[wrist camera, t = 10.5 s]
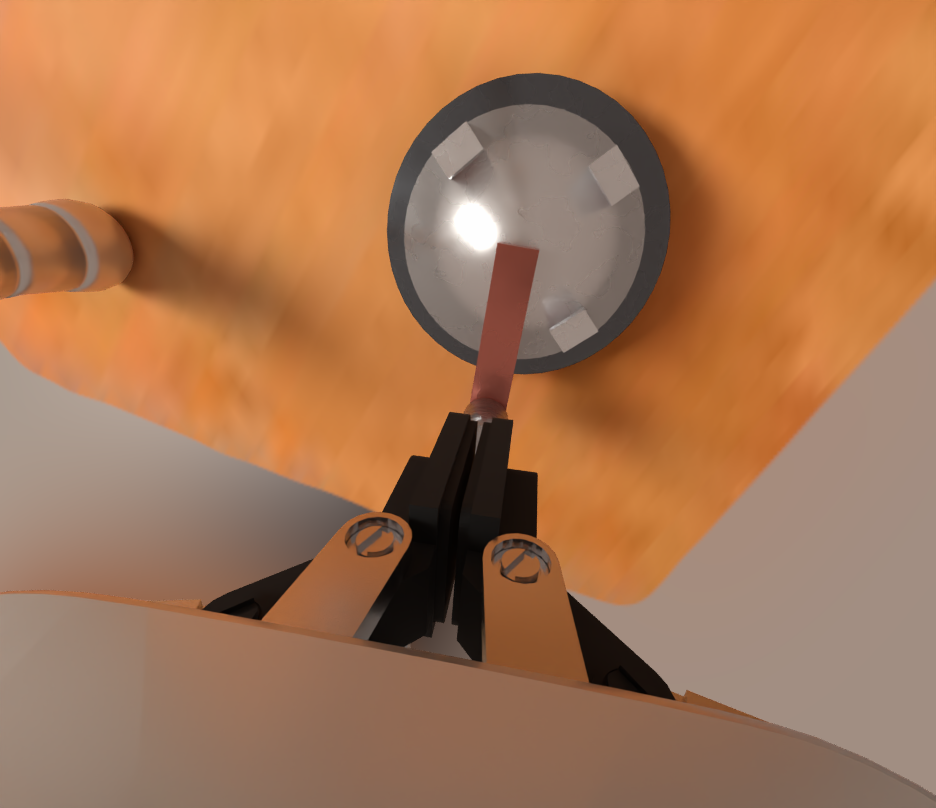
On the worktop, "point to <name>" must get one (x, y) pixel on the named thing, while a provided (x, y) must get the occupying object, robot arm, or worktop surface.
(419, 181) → the crank handle wheel
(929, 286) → the worktop surface
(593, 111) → the gray plate
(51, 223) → the plastic bottle
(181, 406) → the worktop surface
